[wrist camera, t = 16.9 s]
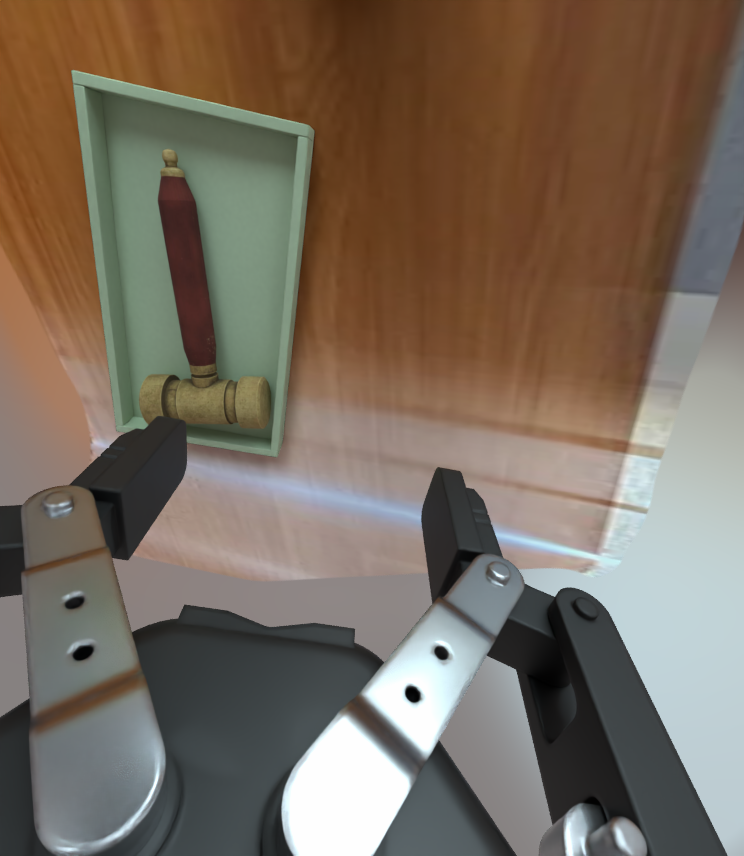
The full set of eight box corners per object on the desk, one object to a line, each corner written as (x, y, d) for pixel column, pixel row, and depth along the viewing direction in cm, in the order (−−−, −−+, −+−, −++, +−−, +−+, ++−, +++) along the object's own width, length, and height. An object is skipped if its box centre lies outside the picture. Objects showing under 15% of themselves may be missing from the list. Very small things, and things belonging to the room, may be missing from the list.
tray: (95, 79, 28) (70, 69, 26) (314, 130, 29) (309, 125, 27) (130, 418, 41) (116, 431, 39) (282, 443, 42) (277, 457, 40)
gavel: (73, 140, 26) (231, 144, 26) (114, 152, 31) (250, 155, 31) (144, 435, 36) (261, 437, 36) (168, 413, 40) (273, 416, 40)
